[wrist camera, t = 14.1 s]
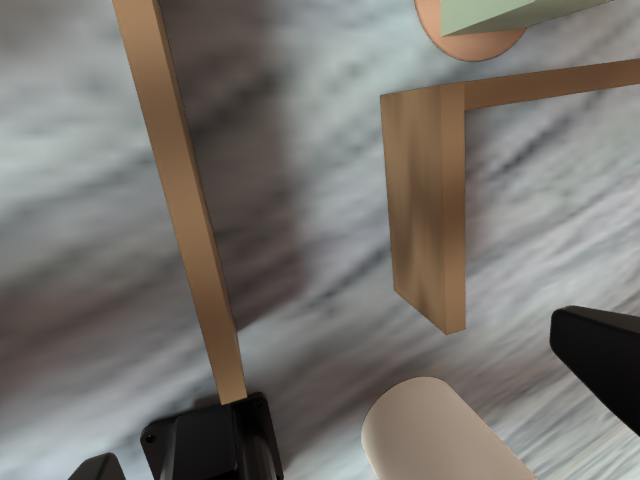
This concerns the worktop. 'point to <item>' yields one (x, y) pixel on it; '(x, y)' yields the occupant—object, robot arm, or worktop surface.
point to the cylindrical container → (434, 437)
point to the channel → (400, 165)
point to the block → (503, 14)
